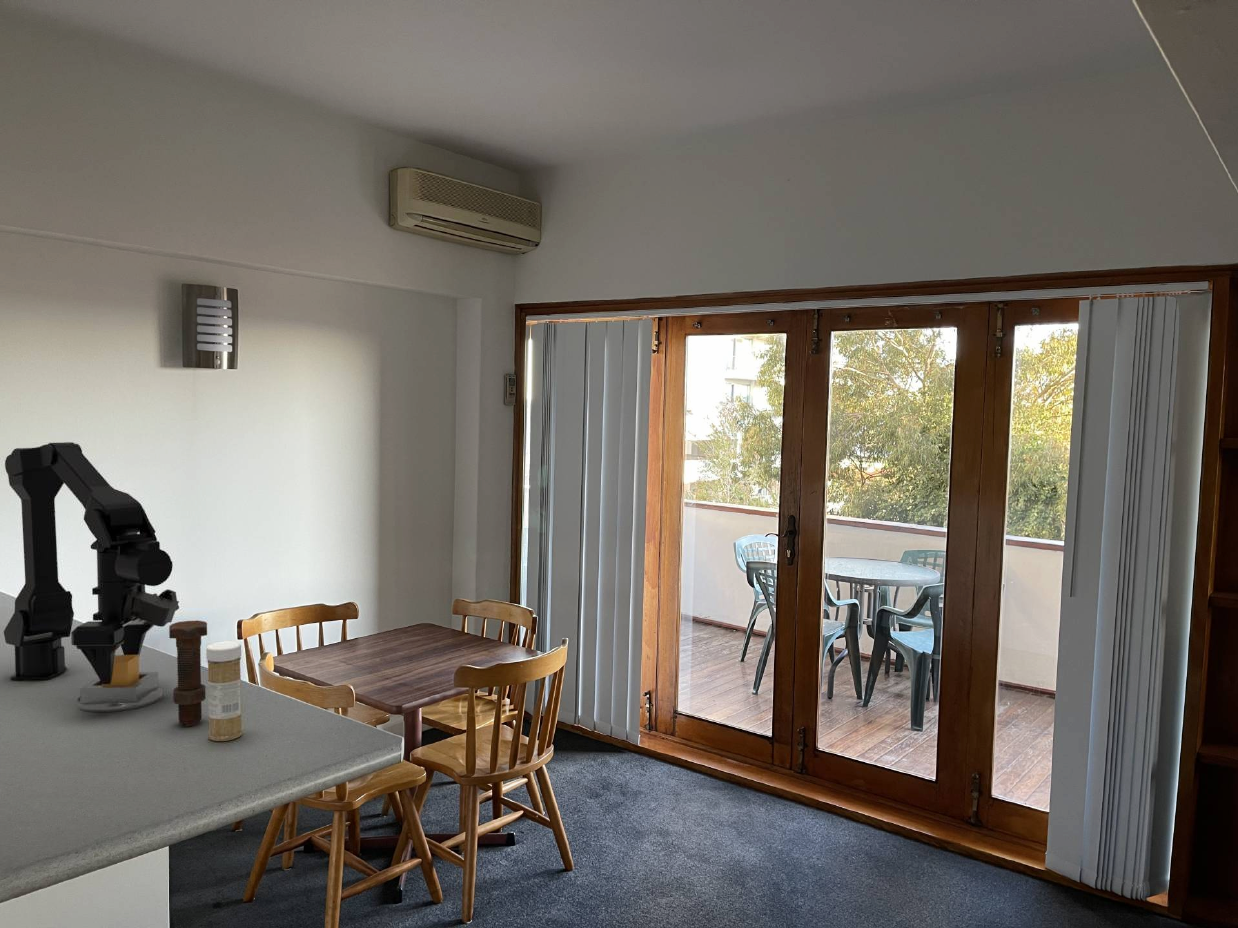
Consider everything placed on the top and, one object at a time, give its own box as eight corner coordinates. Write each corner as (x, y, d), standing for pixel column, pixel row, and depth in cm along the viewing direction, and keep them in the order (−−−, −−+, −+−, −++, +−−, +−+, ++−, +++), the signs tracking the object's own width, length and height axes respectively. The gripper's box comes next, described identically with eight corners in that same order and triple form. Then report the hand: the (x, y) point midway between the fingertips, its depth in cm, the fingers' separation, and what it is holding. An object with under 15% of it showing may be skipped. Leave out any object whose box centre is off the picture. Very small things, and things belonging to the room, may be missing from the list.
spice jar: (241, 729, 136) (240, 638, 135) (243, 739, 131) (242, 646, 131) (207, 733, 134) (205, 642, 133) (208, 744, 129) (206, 649, 129)
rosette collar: (62, 712, 142) (61, 691, 142) (99, 689, 154) (98, 669, 154) (144, 711, 143) (143, 690, 143) (174, 688, 155) (173, 668, 155)
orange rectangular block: (102, 699, 146) (101, 661, 146) (113, 691, 150) (112, 655, 150) (128, 698, 147) (127, 661, 146) (139, 691, 151) (138, 654, 150)
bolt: (217, 718, 140) (216, 620, 139) (199, 730, 135) (197, 628, 134) (181, 717, 141) (179, 619, 140) (161, 728, 136) (159, 627, 135)
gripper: (146, 590, 139) (148, 692, 140) (192, 568, 157) (193, 659, 158) (68, 590, 138) (70, 693, 139) (123, 568, 156) (125, 659, 157)
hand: (120, 675), depth 148 cm, fingers open, 9 cm apart
